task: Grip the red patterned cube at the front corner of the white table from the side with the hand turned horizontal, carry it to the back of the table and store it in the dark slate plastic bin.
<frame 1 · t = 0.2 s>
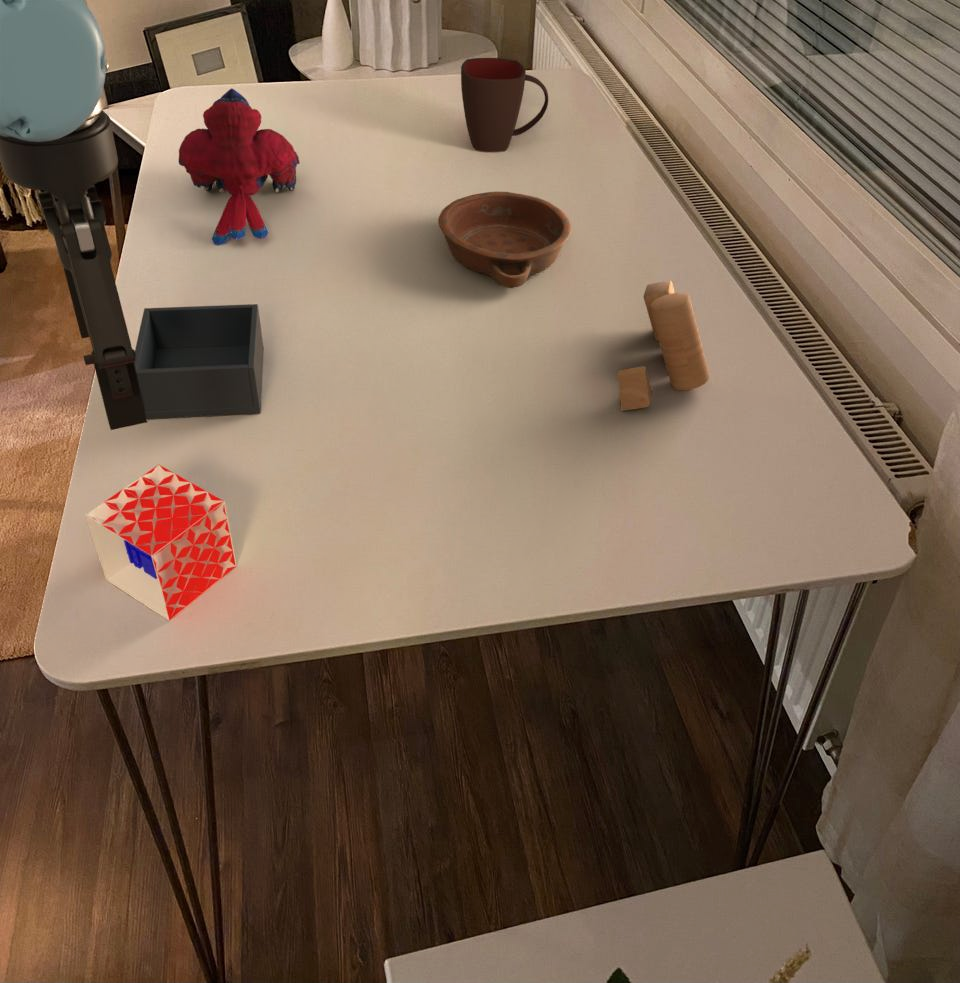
hand: (112, 376, 79), 16 cm above the table, tool pointing down, fingers open, 13 cm apart
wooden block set: (664, 372, 111), on the table
dish: (502, 256, 130), on the table
cup: (501, 146, 157), on the table
bin: (205, 382, 106), on the table
red patterned cube: (172, 574, 85), on the table
figurine: (245, 214, 136), on the table
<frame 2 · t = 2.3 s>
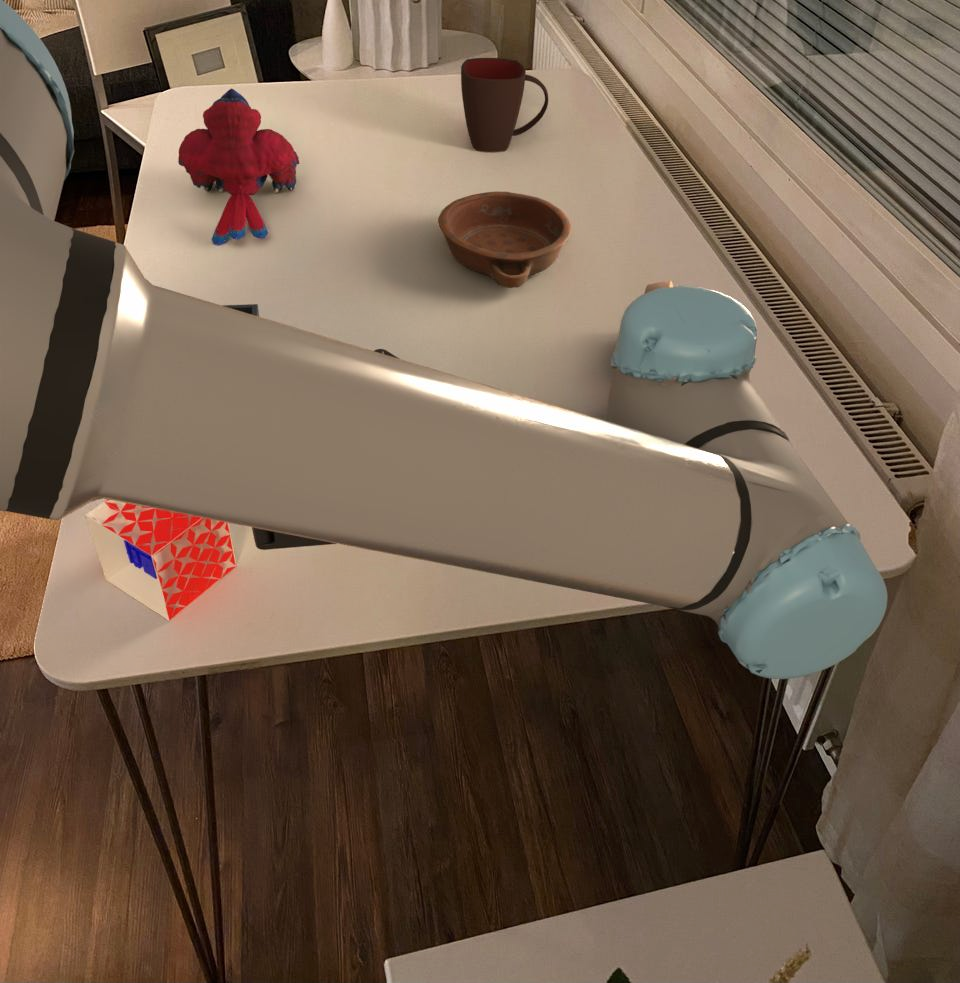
hand: (228, 416, 70), 20 cm above the table, tool horizontal, fingers open, 13 cm apart
nothing on the table moved.
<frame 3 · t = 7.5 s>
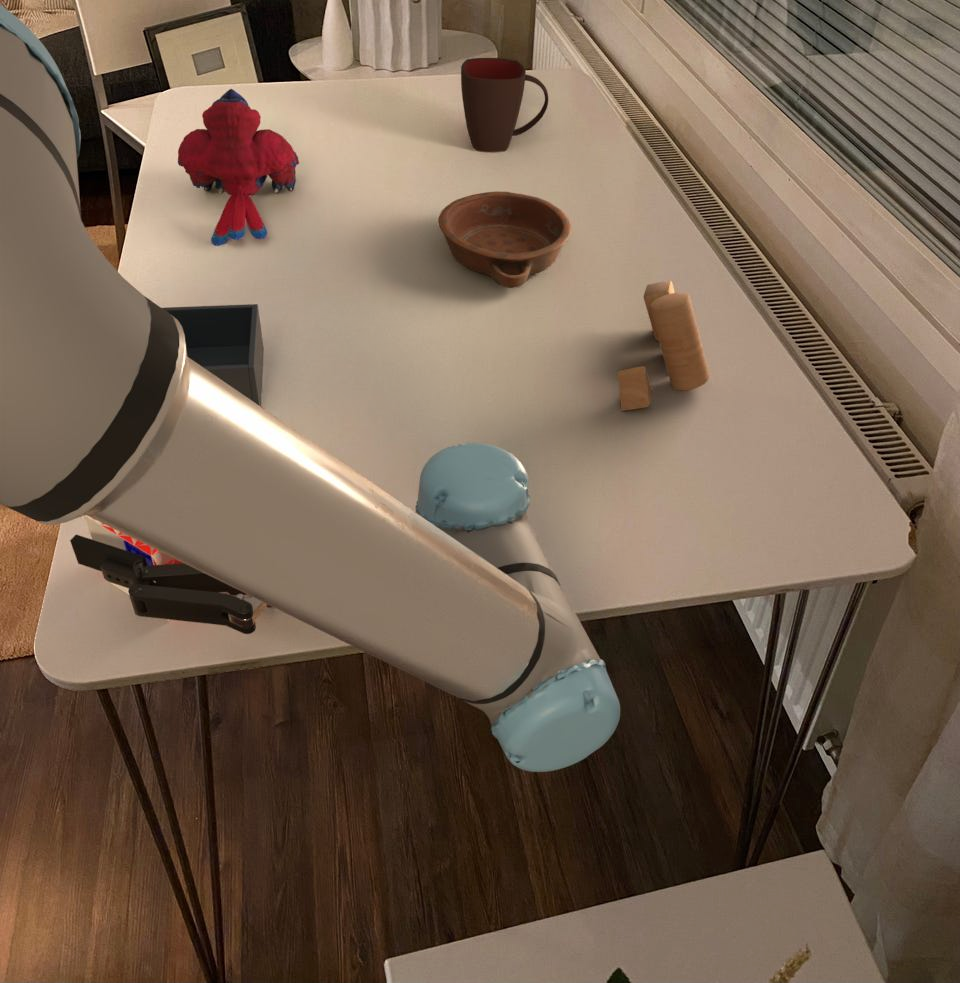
hand: (114, 509, 82), 6 cm above the table, tool horizontal, fingers closed on red patterned cube, 9 cm apart
red patterned cube: (172, 574, 85), on the table, touching gripper
everything else where it was.
when the fingers open (12 cm above the table, at t = 15.0 s): red patterned cube stays where it is, resting on bin.
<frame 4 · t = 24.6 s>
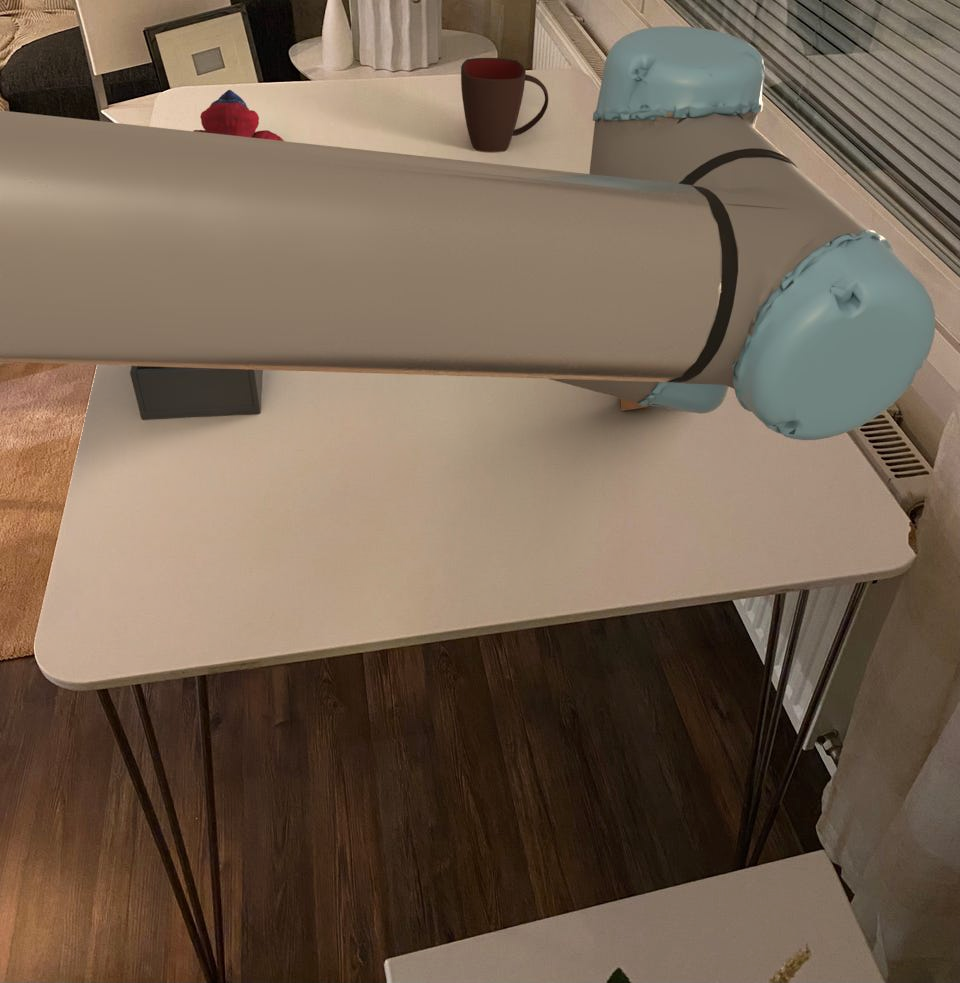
hand: (164, 224, 62), 34 cm above the table, tool horizontal, fingers open, 13 cm apart
red patterned cube: (197, 338, 102), point 6 cm above the table, touching bin
everything else where it was.
at the end: red patterned cube inside the target area in the bin (0.0 cm from its centre), point 5.8 cm above the bin's base; the gripper is holding nothing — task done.
